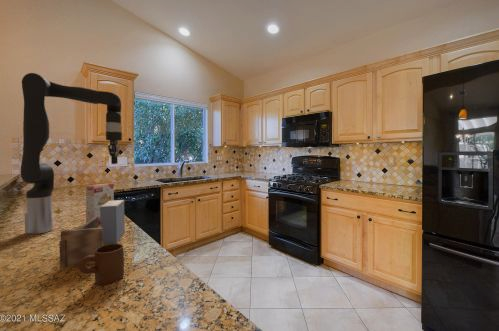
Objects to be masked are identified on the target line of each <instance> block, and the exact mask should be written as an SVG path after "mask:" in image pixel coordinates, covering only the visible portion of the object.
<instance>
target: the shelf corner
mask: <svg viewBox="0 0 499 331" xmlns="http://www.w3.org/2000/svg"><path fill="white" fill-rule="evenodd" d="M58 243H59V244H58V245H59V268H60V269H66V268H68V267H73V266H75V267H76V266H78V264H79V262H80V261H81V259H83V258H84V257H86V256H89V255H91V256H95V250H96V249H97V248H99V247H101V246H104V244H103V227H102V228H101V227H99V223H98V217H94V218H92V219H91V220H89V221H88V222H87V223H86V222H85V223H83V224H82V225H81V226H80V227H78V228H76V229H65V230H64V229H63V230H61V231H60V241H59V242H58ZM91 264H94V265H95V261H87V262H86V263H85V265H91Z"/></svg>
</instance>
